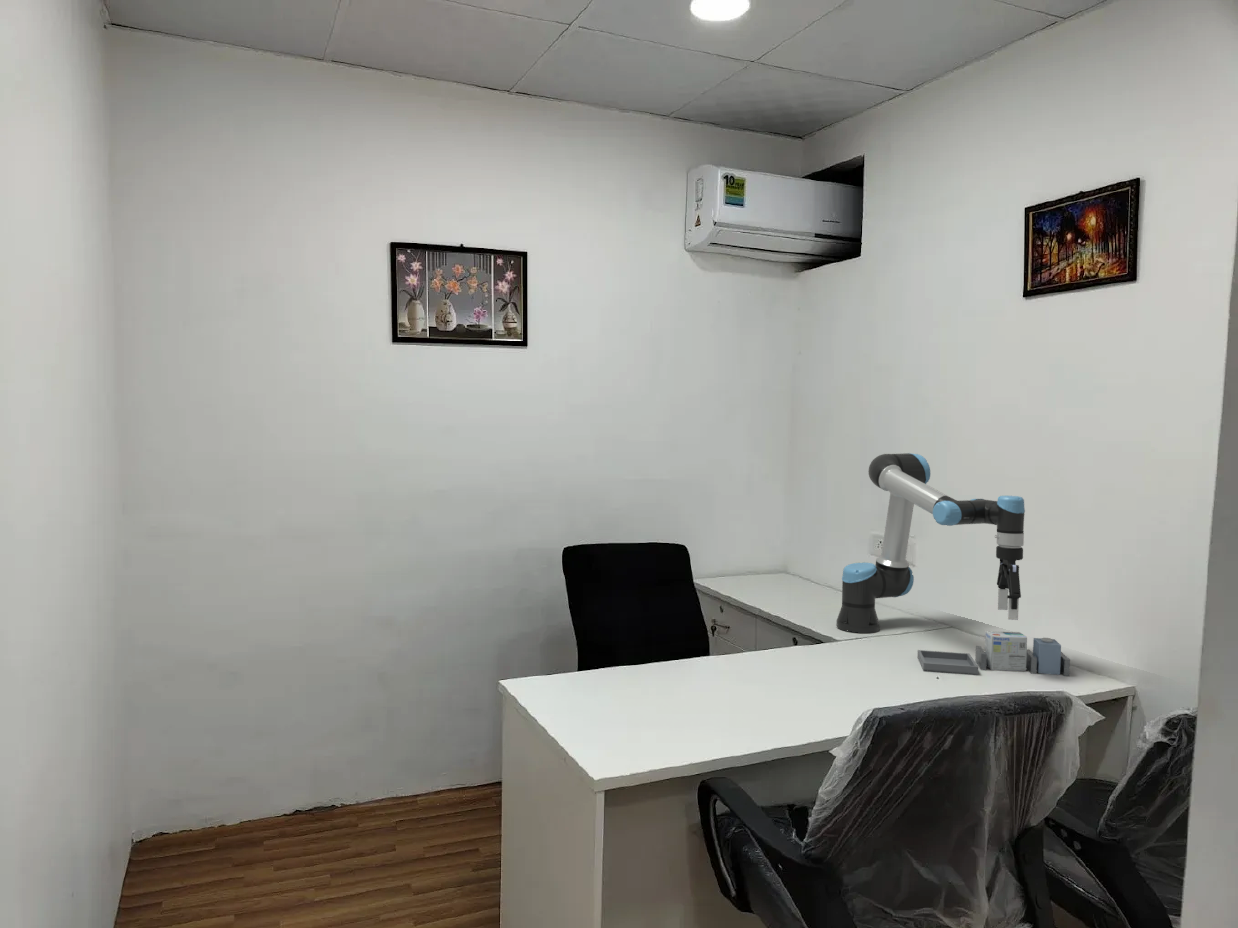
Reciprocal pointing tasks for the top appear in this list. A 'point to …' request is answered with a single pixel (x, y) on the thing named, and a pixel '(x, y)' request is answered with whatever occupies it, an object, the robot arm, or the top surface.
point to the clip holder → (1030, 661)
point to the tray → (947, 662)
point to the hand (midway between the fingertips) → (1007, 614)
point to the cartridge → (1047, 655)
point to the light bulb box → (1006, 650)
